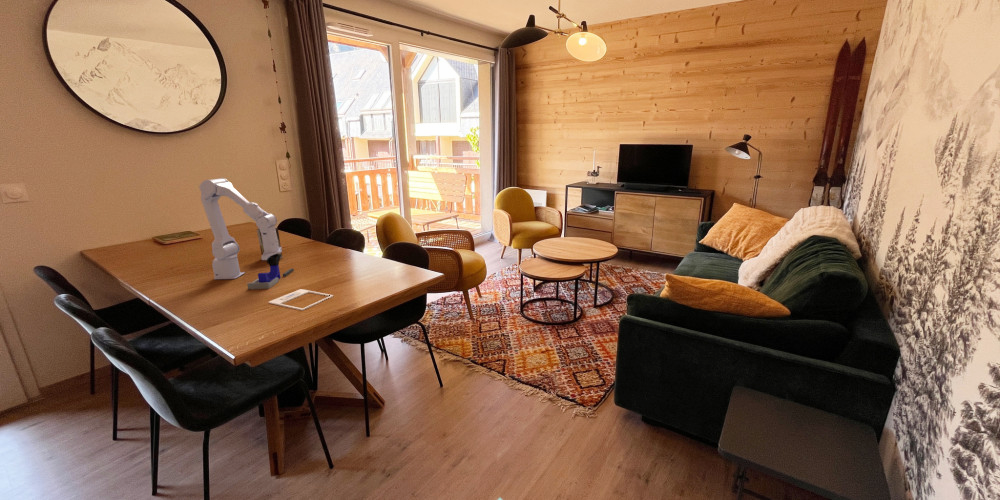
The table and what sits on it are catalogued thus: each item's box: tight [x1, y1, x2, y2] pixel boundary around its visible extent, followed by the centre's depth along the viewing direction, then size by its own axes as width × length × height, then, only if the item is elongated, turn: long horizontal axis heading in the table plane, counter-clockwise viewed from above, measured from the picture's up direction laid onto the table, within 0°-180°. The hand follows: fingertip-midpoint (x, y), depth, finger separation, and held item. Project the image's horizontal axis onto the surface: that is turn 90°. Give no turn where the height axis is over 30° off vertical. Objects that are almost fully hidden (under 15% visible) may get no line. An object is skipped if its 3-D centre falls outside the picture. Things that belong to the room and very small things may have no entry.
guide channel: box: [282, 268, 294, 277], centre depth 186 cm, size 8×8×1 cm
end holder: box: [246, 278, 280, 290], centre depth 171 cm, size 8×9×2 cm
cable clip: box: [257, 265, 281, 282], centre depth 174 cm, size 12×4×6 cm, turn 4°
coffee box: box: [256, 227, 283, 260], centre depth 208 cm, size 9×6×16 cm
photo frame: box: [268, 288, 334, 312], centre depth 155 cm, size 15×1×18 cm
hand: (275, 270), depth 181 cm, fingers closed
